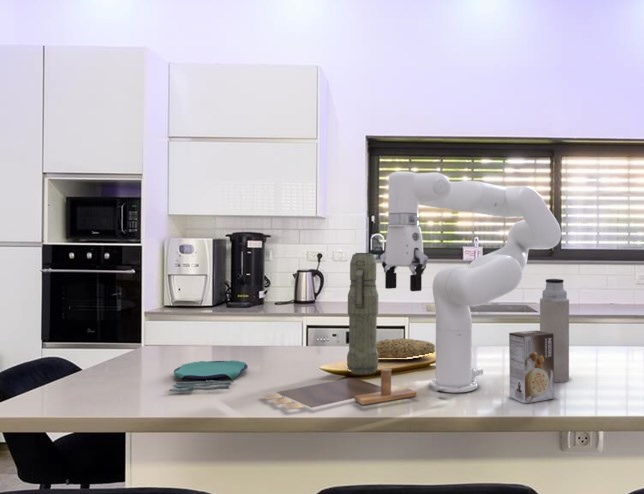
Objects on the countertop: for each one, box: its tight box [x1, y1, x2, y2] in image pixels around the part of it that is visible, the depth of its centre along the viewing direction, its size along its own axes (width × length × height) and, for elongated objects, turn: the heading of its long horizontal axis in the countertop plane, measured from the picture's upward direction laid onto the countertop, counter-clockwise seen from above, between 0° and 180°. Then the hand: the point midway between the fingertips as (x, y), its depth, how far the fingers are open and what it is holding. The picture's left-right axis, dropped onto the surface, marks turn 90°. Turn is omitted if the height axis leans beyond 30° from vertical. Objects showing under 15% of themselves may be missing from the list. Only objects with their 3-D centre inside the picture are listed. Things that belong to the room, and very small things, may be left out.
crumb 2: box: [270, 397, 293, 406], centre depth 129 cm, size 4×4×1 cm
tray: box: [276, 376, 381, 409], centre depth 139 cm, size 23×17×1 cm
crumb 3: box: [281, 402, 305, 410], centre depth 126 cm, size 4×4×1 cm
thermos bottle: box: [539, 278, 570, 383], centre depth 156 cm, size 8×8×28 cm
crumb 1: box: [262, 392, 284, 401], centre depth 133 cm, size 4×4×1 cm
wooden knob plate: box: [354, 367, 418, 407], centre depth 132 cm, size 4×14×8 cm, turn 122°
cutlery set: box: [168, 359, 248, 393], centre depth 154 cm, size 20×30×2 cm, turn 9°
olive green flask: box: [346, 252, 379, 375], centre depth 160 cm, size 9×12×35 cm
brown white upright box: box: [508, 330, 555, 404], centre depth 136 cm, size 9×6×16 cm
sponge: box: [376, 337, 436, 361], centre depth 181 cm, size 13×8×20 cm
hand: (403, 289), depth 139 cm, fingers open, 9 cm apart
